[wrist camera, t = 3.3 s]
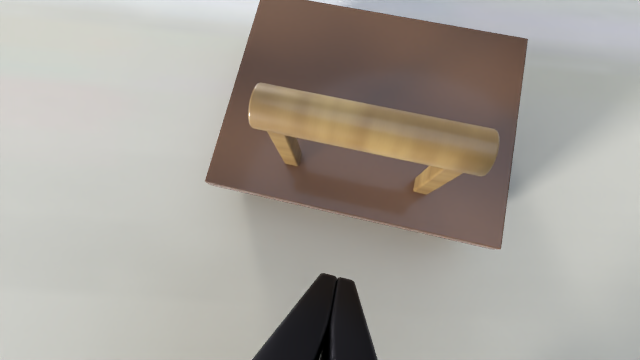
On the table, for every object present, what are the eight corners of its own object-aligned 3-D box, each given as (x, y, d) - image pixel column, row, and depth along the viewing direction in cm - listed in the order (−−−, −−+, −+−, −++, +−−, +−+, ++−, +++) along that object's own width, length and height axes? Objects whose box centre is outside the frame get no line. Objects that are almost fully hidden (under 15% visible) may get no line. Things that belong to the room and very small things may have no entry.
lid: (492, 249, 15) (624, 248, 8) (210, 185, 17) (119, 137, 10) (519, 48, 17) (645, -90, 10) (265, 2, 19) (223, -148, 12)
